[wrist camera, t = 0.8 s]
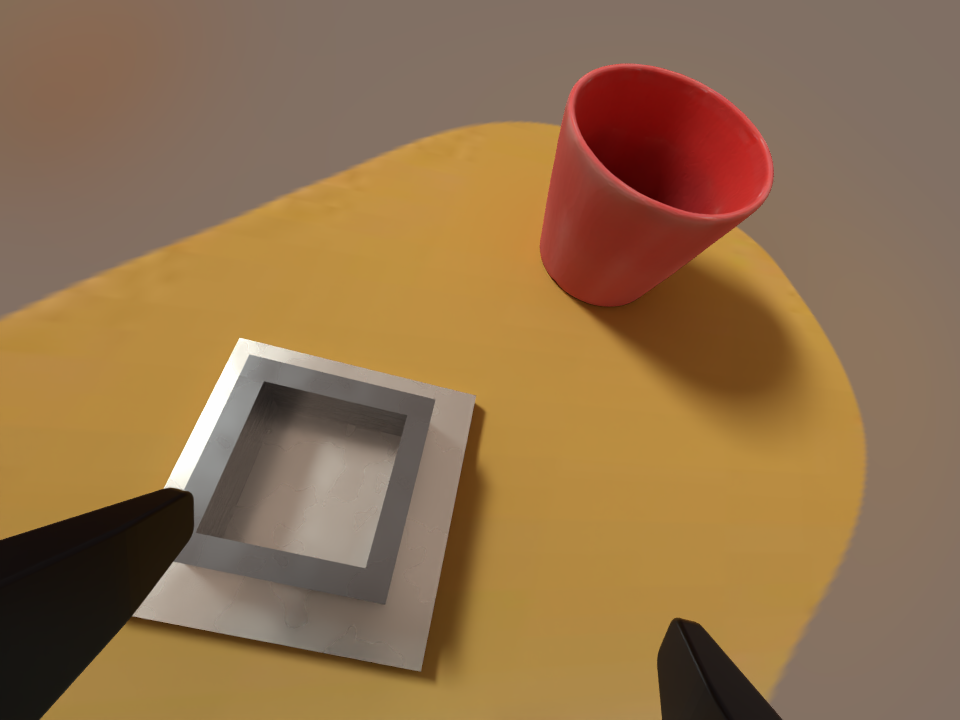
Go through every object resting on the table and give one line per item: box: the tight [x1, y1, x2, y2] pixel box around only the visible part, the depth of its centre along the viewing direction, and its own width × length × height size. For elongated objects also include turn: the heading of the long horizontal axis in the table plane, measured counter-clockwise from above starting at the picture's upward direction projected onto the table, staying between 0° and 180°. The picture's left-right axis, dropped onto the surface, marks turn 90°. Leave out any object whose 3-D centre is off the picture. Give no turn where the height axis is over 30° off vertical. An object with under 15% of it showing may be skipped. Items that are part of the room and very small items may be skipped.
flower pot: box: [540, 64, 774, 307], centre depth 27 cm, size 11×11×10 cm
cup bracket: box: [132, 338, 476, 672], centre depth 20 cm, size 12×12×4 cm
